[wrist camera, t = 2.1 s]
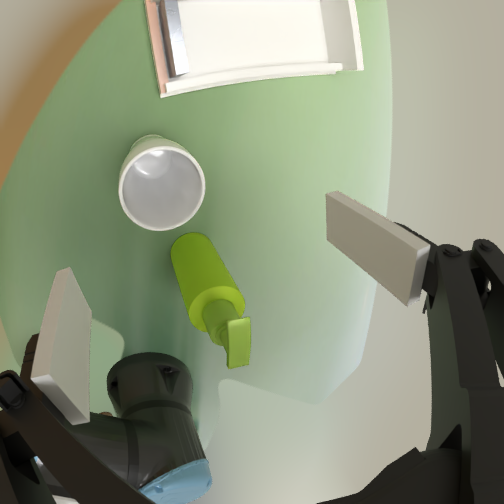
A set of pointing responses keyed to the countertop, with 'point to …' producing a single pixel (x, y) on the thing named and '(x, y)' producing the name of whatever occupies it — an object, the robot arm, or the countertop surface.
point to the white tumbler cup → (160, 184)
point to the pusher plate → (173, 38)
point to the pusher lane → (257, 41)
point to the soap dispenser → (212, 296)
